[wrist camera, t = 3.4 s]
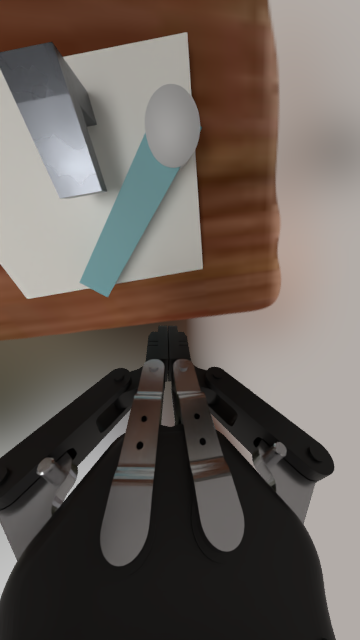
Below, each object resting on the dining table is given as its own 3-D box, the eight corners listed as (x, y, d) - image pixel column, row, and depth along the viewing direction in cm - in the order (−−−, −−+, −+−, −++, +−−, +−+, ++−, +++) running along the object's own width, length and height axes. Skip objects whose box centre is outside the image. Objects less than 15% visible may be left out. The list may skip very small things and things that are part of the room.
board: (184, 48, 12) (187, 32, 11) (200, 264, 22) (203, 268, 20) (-102, 105, 13) (-130, 95, 12) (34, 293, 22) (27, 298, 21)
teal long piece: (164, 94, 12) (165, 62, 10) (201, 137, 14) (211, 121, 11) (85, 272, 19) (71, 285, 16) (115, 288, 21) (107, 303, 18)
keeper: (87, 92, 12) (51, 41, 8) (117, 193, 16) (101, 190, 12) (47, 100, 12) (-7, 53, 8) (85, 198, 16) (60, 198, 12)
